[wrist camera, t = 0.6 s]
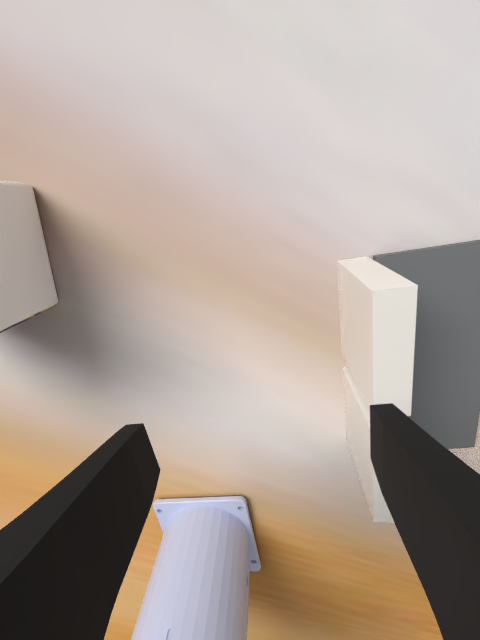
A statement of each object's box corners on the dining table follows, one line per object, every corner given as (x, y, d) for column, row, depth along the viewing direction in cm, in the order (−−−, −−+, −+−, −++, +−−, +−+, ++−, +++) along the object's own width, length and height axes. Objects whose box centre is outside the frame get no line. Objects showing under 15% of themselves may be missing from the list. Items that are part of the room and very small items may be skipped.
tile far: (369, 437, 21) (406, 521, 15) (345, 438, 21) (373, 522, 16) (369, 364, 19) (411, 433, 13) (342, 367, 19) (372, 435, 14)
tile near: (368, 351, 18) (412, 415, 13) (341, 353, 19) (373, 418, 13) (368, 255, 16) (419, 284, 11) (337, 260, 17) (372, 291, 11)
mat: (470, 442, 20) (474, 447, 20) (373, 448, 21) (375, 452, 21) (501, 236, 15) (506, 237, 15) (372, 255, 16) (375, 257, 16)
